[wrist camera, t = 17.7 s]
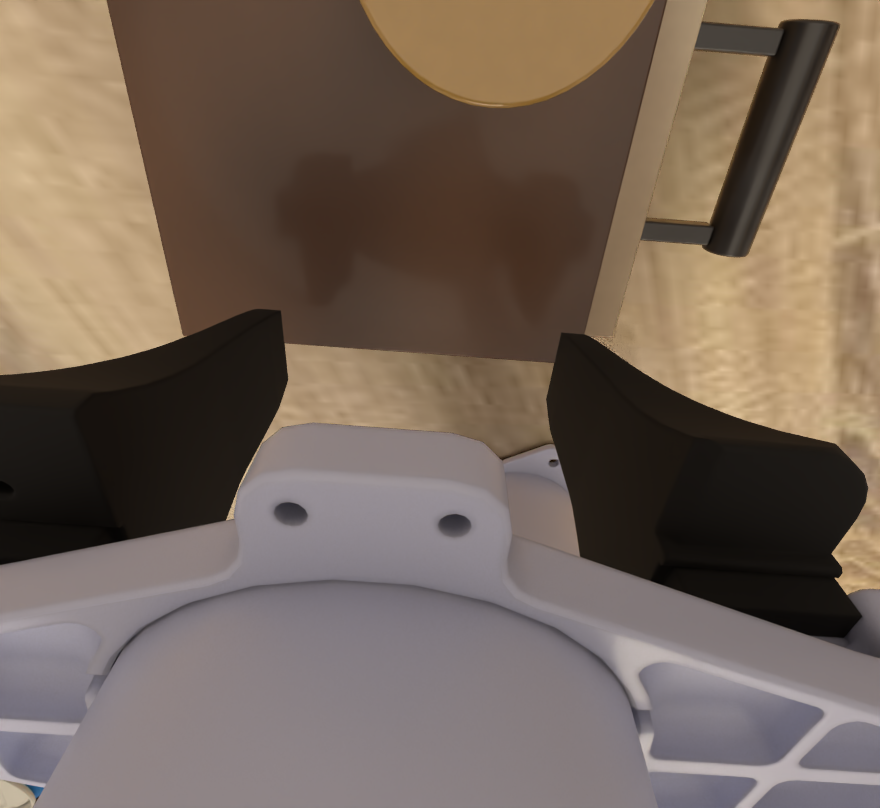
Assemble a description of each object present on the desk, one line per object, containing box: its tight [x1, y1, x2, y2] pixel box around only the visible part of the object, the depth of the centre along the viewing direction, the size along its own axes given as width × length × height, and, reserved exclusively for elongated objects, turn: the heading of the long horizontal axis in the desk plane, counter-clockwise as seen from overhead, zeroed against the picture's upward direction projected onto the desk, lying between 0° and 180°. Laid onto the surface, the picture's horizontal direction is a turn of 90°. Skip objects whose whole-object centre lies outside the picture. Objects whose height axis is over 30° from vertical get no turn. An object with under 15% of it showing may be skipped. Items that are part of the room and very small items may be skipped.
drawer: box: [585, 0, 840, 338], centre depth 16 cm, size 16×11×5 cm
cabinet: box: [107, 0, 667, 363], centre depth 15 cm, size 12×12×6 cm
